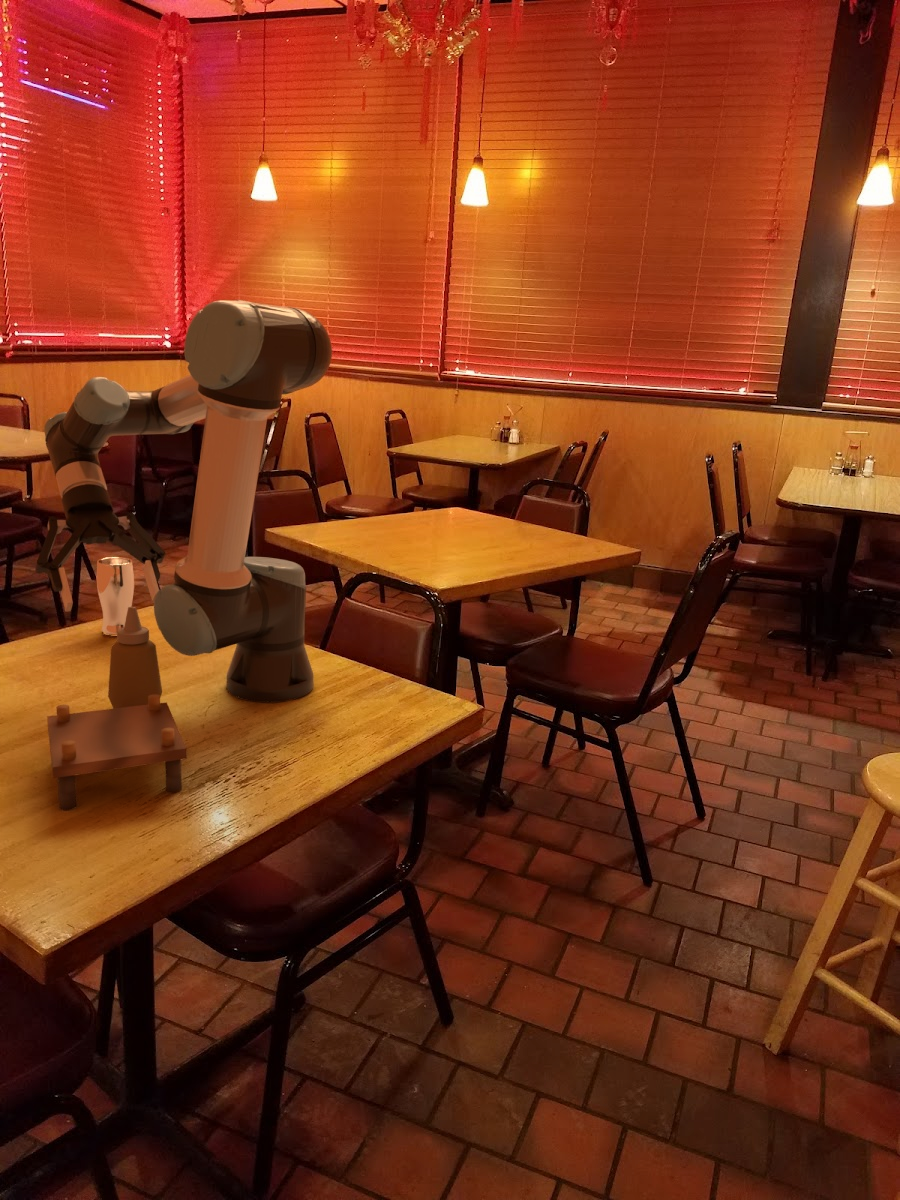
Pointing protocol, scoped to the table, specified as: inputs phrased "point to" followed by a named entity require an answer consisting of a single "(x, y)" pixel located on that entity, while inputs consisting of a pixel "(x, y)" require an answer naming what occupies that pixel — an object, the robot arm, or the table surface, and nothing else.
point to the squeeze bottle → (133, 665)
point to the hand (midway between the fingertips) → (114, 602)
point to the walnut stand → (113, 744)
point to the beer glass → (115, 591)
